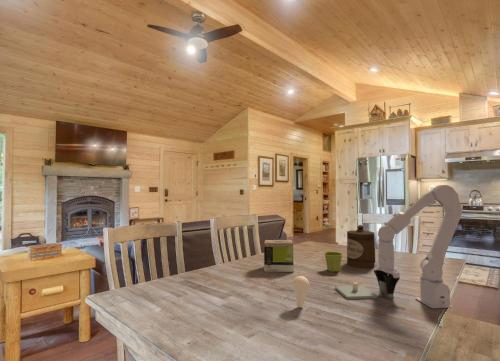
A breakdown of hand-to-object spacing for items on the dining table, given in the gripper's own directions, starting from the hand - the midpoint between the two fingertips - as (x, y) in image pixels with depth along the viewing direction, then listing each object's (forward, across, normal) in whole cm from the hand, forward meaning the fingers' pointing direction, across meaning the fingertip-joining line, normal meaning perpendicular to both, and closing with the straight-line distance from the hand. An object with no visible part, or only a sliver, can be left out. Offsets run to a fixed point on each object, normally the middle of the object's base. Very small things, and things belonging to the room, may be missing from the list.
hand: (386, 291), depth 116 cm
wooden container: (+2, -47, +13) cm, 49 cm away
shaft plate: (+2, -4, -11) cm, 12 cm away
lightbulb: (+2, +8, -37) cm, 38 cm away
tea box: (+2, -41, -35) cm, 54 cm away
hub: (+2, 0, 0) cm, 2 cm away
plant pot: (+2, -37, -7) cm, 38 cm away
